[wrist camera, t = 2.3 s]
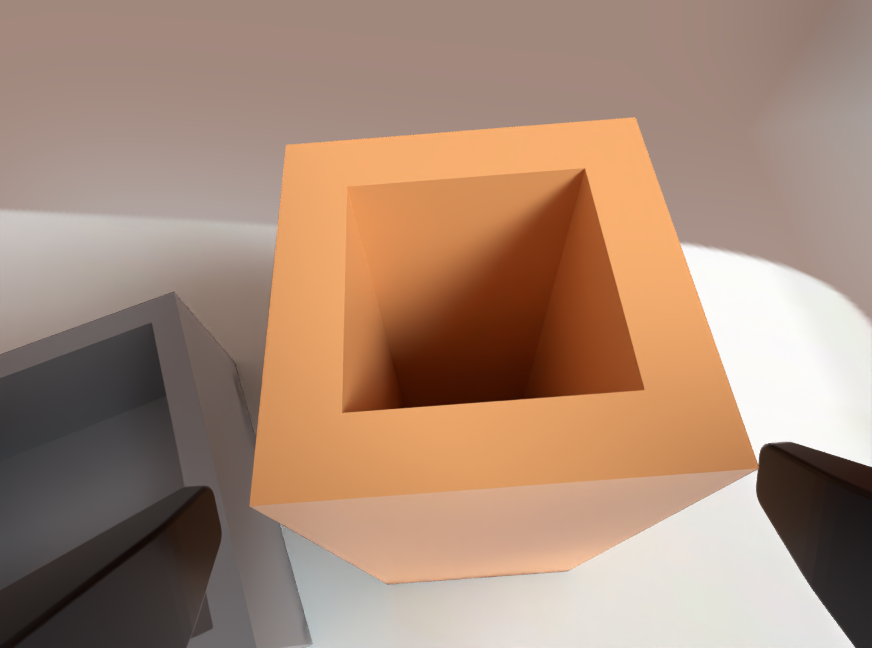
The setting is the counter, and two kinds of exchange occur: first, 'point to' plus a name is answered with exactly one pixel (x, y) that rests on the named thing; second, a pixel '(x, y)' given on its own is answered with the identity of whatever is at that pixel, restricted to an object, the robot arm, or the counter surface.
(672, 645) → the counter surface
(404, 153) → the orange hollow square block
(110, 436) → the grey crate
